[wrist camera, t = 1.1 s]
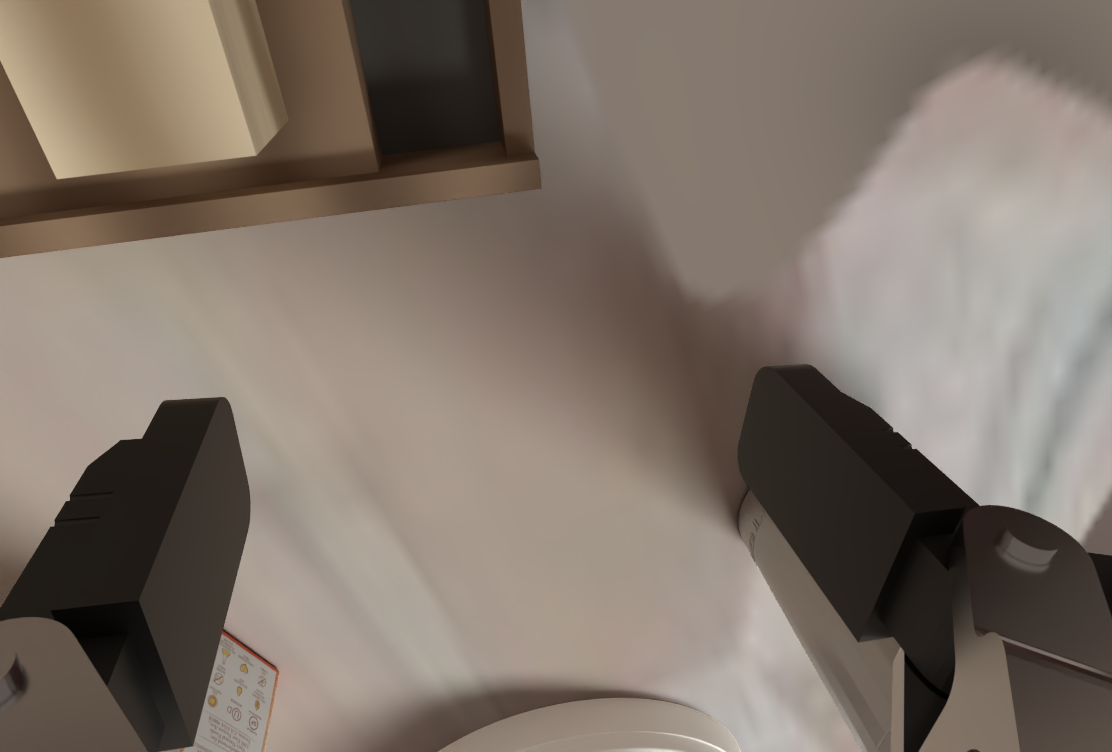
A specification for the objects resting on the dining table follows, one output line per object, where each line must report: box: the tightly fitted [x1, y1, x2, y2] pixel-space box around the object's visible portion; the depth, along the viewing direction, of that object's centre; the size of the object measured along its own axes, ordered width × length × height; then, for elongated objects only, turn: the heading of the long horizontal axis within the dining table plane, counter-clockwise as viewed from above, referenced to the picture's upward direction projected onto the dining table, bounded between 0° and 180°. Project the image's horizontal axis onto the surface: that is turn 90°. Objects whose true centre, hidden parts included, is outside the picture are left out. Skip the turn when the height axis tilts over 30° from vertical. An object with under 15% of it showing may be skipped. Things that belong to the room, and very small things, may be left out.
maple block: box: [0, 0, 289, 179], centre depth 18 cm, size 5×5×5 cm
